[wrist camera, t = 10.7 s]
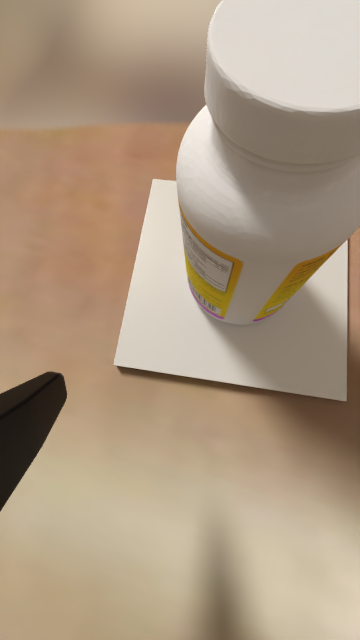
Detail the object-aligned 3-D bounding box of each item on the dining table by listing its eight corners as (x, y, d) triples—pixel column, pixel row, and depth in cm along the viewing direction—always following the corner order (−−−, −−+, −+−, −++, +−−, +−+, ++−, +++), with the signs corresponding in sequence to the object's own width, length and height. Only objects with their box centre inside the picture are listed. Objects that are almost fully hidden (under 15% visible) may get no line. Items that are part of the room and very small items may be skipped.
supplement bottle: (292, 240, 18) (490, -76, 6) (285, 334, 17) (535, 174, 4) (195, 229, 19) (188, -75, 7) (179, 319, 17) (132, 143, 5)
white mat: (341, 401, 16) (346, 401, 16) (116, 365, 18) (113, 365, 17) (343, 201, 20) (347, 195, 19) (154, 185, 21) (153, 179, 20)
